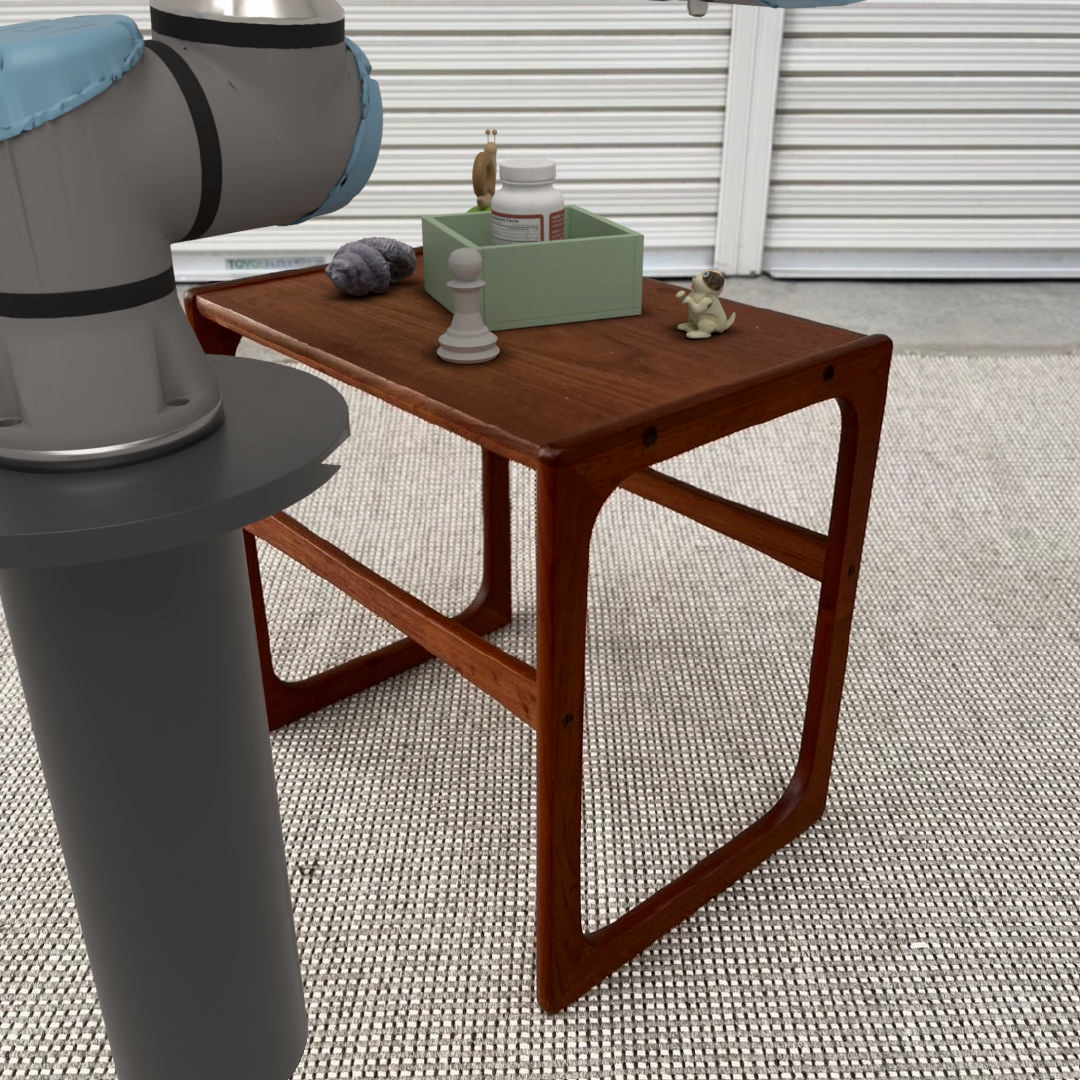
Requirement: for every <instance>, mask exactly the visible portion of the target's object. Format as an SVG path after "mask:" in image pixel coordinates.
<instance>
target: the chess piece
mask: <svg viewBox="0 0 1080 1080" xmlns="http://www.w3.org/2000/svg"><path fill="white" fill-rule="evenodd" d="M448 267H449V270H450V272H451V274H452V275H453V276H454V277H455V278H456V279H455V280H452V281H449V282H448V283H447V285H448V286H449V287H450V288H451V289H452V290H453V294H454V305H455V313H454V314H453V317H452V320H451V324H450V326H448V327H447V329H446V331H445V332H444V333H442V334H441V335H440V336H439V337H438V343H439V345H440V346H439V347H438V348H437V349H436V353H437V355H438V357H440V359H441V360H443V361H446V362H448V363H452V364H460V365H461V364H462V365H464V364H465V365H468V364H469V365H470V364H471V365H472V364H480V363H485V362H489V361H493V360H494V359H496V358H497V357H498V355H499V354H500V352H501V350H500V347H498V345H497V344H496V343H497V342H498V336H497V335H496V334H494V333H493V331H489V330H488V327H486V326H485V325H484V323H483V320H482V318H481V315H480V312H479V297H480V289H481V288H482V287H483V286H484V285H485V282H484V281H482V280H479V279H476V278H477V277H478V276H479V274H480V273H481V270H482V267H483V260H482V257H481V255H480V253H479V252H478V251H476V250H474V249H470V248H466V247H464V248H460V249H457V250H455V251H453V252H452V253H451V255H450V257H449V260H448Z"/></svg>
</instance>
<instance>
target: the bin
mask: <svg viewBox="0 0 1080 1080" xmlns="http://www.w3.org/2000/svg"><path fill="white" fill-rule="evenodd" d="M420 219H421V236H422V237H421V238H422V255H423V256H422V257H423V258H422V259H423V276H424V277H423V278H424V279H423V280H424V291H425V292H426V293H427V294H429V295H430V296H431V297H432V298H433V299H434V300H436V301H437V303H439V304H440V305H441V306H443V307H444V308H445V309H446V310H448V311H449V312H450V313H451V314H453V315H454V313H455V305H454V294H453V290H452V289H451V288H450V287H449V286H448V285H447V283H448V282H449V281H452V280H455V279H456V278H455V277H454V276H453V275H452V274H451V272H450V270H449V267H448V260H449V257H450V255H451V253H452V252H453V251H455V250H457V249H460V248H464V247H466V248H470V249H474V250H476V251H478V252H479V253H480V255H481V257H482V260H483V267H482V270H481V273H480V274H479V276H478V277H477V278H476V279H479V280H482V281H484V282H485V285H484V286H483V287H482V288H481V289H480V297H479V312H480V315H481V318H482V320H483V323H484V325H485V326H486V327H488V330H489V331H490V332H495V331H505V330H513V329H514V330H515V329H523V328H533V327H541V326H550V325H551V326H552V325H559V324H569V323H577V322H586V321H597V320H605V319H613V318H622V317H623V318H624V317H632V316H640V315H642V302H643V301H642V300H643V276H644V275H643V274H644V249H645V234H643V233H641V232H639V231H636V230H633V229H632V228H629V227H627V226H624V225H623V224H620V223H618V222H615V221H614V220H610V219H608V218H606V217H604V216H601V215H600V214H597V213H595V212H592V211H590V210H588V209H586V208H583V207H581V206H579V205H576V204H567V205H566V204H564V236H565V240H553V241H541V242H530V243H518V244H506V245H494V246H492V219H491V211H483V212H470V213H466V212H457V213H446V214H445V213H443V214H431V215H422V216H421V217H420Z"/></svg>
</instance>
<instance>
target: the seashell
mask: <svg viewBox="0 0 1080 1080" xmlns="http://www.w3.org/2000/svg"><path fill="white" fill-rule="evenodd" d="M417 263H418V259H417V256H416V253H415V250H414V247H413V246H412V245H409V244H408V243H405V242H403V241H400V240H396V238H391V237H385V236H382V237H381V236H379V237H377V236H373V237H363V238H362V239H358V240H356V241H350V242H346V243H345V244H343V245H341V246H340V247H339V248H338V250H336V252H335V254H334V255H333V257H332V260H331V261H330V263H328V265H327V266H326V267H325V268H324V274H325V275H326V277H327V278H328V279H329V280H330V281H331V282H332V284H333V286H334V288H335V289H336V290H337V291H340V292H346V293H347V294H350V295H352V296H357V297H361V296H365V295H368V294H369V293H370V292H372V293H375V294H385V293H386V291H387V290H388V288H389V286H390V282H391V283H394V284H396V283H399V282H402V281H403V280H404V279H407V278H411V277H412V276H414V272H415V271H416V267H417Z"/></svg>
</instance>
